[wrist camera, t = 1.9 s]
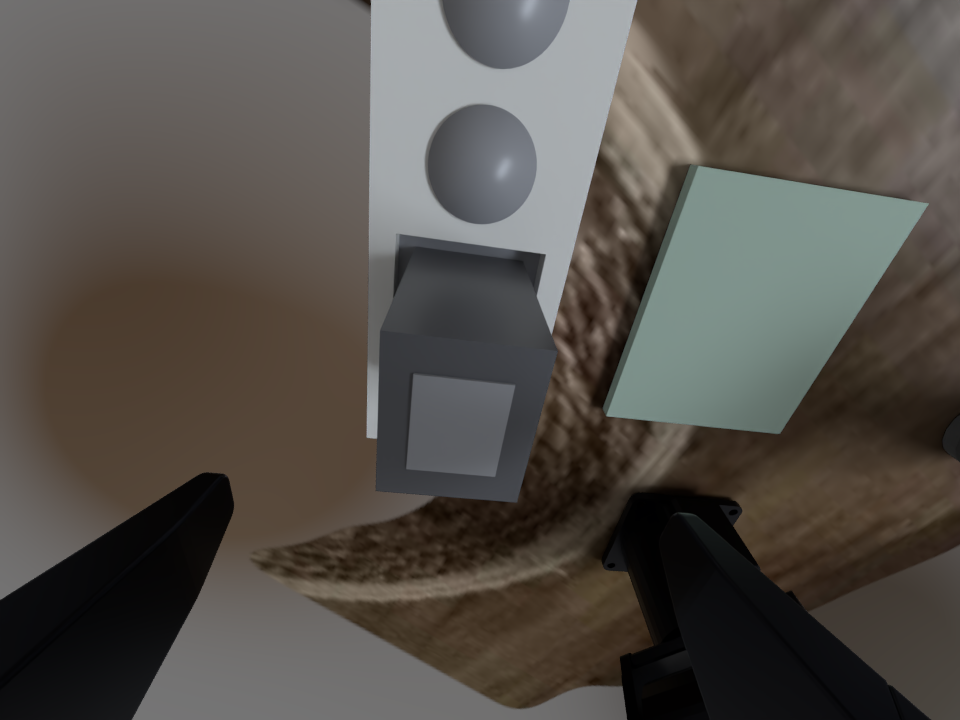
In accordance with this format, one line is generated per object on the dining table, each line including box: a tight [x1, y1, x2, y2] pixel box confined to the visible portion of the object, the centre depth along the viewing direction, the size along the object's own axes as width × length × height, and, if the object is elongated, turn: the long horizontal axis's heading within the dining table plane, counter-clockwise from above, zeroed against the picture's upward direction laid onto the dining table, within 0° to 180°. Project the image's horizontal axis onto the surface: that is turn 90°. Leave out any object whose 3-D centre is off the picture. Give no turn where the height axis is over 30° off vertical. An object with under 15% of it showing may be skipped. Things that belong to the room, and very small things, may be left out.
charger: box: [376, 246, 558, 503], centre depth 13 cm, size 5×4×7 cm
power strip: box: [367, 0, 637, 439], centre depth 14 cm, size 20×7×3 cm, turn 172°
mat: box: [603, 164, 928, 434], centre depth 18 cm, size 11×9×1 cm
